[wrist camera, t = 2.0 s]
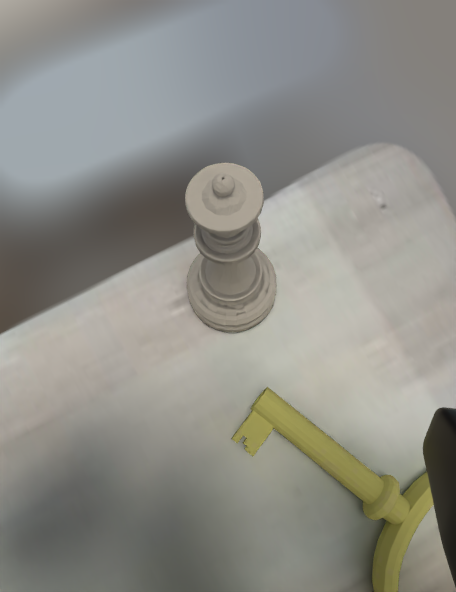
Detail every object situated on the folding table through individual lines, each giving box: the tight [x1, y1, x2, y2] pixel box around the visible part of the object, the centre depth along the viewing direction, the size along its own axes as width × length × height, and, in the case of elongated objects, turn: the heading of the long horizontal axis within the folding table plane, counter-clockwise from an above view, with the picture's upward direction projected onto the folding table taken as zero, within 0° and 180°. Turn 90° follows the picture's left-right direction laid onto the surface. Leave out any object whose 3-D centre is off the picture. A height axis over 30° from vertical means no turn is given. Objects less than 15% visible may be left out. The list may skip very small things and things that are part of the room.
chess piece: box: [185, 163, 276, 332], centre depth 16 cm, size 4×4×10 cm
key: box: [232, 387, 434, 592], centre depth 16 cm, size 7×12×2 cm, turn 70°
